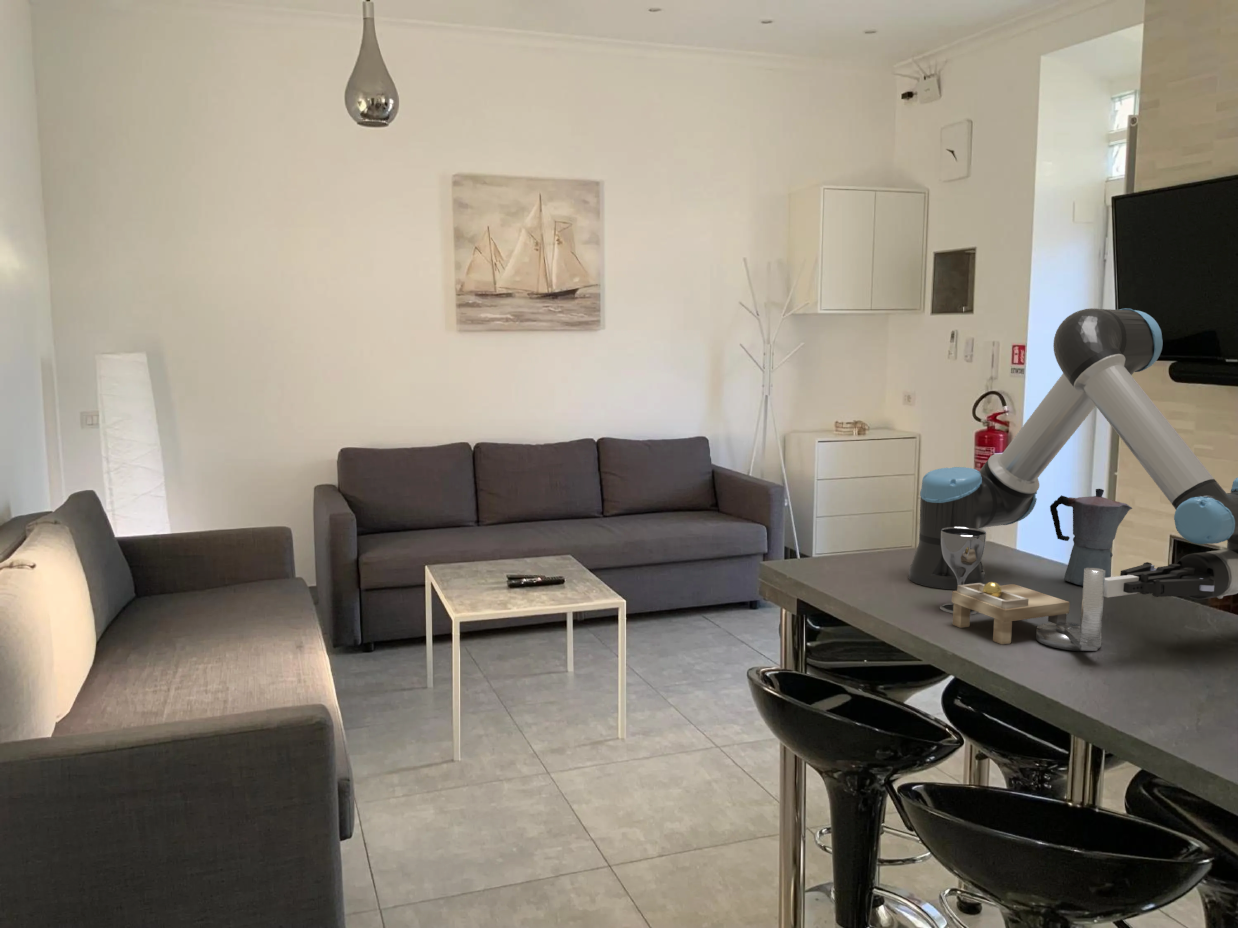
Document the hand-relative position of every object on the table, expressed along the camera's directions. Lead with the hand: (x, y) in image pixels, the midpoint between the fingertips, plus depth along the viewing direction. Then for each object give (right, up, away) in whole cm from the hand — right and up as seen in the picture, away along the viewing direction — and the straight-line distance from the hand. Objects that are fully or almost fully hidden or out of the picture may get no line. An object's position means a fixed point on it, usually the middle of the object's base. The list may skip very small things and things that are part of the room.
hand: (1103, 587), depth 155 cm
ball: (-12, -2, +16) cm, 20 cm away
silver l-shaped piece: (-1, -11, +8) cm, 13 cm away
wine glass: (-12, -8, +31) cm, 34 cm away
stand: (-8, -10, +18) cm, 22 cm away
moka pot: (+21, -6, +51) cm, 55 cm away
